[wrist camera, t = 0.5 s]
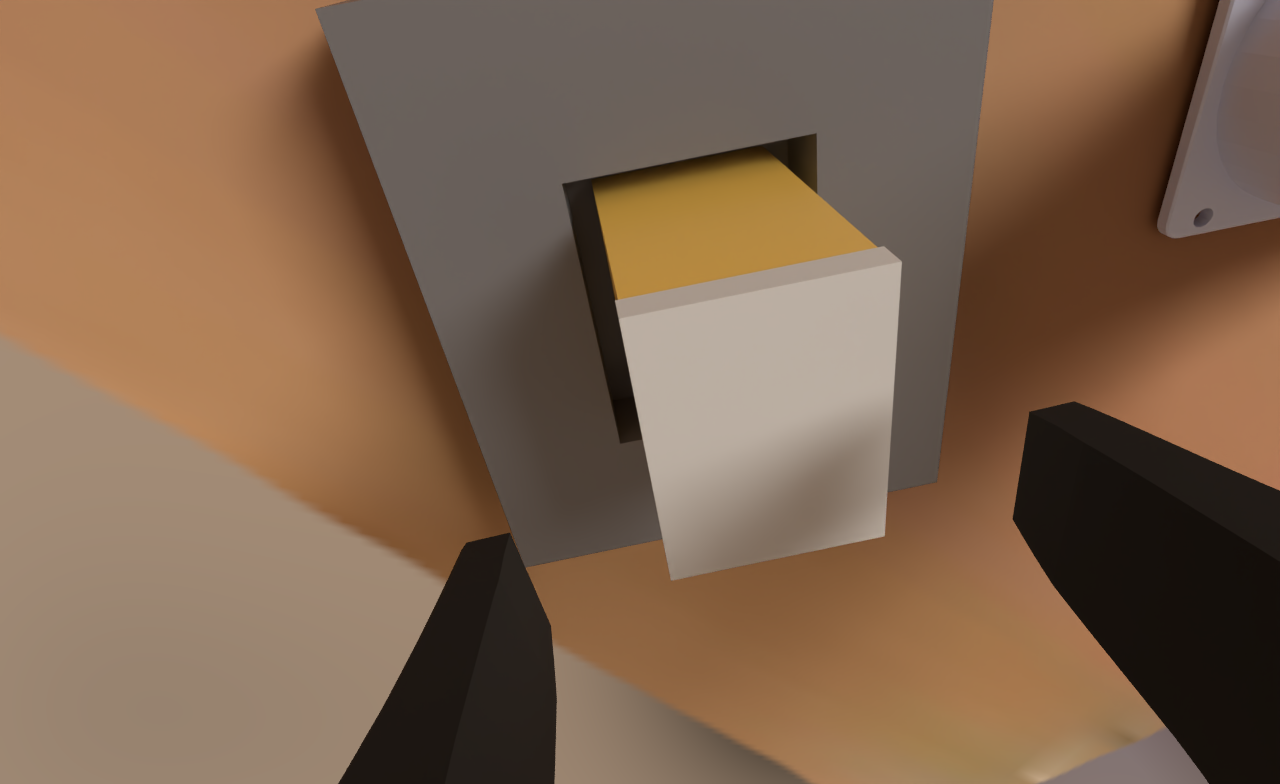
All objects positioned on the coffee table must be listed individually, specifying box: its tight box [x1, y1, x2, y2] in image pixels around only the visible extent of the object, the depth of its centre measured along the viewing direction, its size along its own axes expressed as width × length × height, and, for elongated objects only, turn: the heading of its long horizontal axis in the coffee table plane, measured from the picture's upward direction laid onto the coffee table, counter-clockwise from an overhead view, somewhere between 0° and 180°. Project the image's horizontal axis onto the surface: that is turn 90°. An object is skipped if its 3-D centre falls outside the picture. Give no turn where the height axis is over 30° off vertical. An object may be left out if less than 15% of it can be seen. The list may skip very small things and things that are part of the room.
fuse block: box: [315, 0, 994, 567], centre depth 17 cm, size 12×14×3 cm
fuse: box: [591, 146, 902, 581], centre depth 14 cm, size 4×6×7 cm
